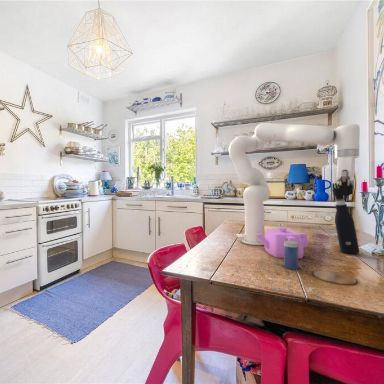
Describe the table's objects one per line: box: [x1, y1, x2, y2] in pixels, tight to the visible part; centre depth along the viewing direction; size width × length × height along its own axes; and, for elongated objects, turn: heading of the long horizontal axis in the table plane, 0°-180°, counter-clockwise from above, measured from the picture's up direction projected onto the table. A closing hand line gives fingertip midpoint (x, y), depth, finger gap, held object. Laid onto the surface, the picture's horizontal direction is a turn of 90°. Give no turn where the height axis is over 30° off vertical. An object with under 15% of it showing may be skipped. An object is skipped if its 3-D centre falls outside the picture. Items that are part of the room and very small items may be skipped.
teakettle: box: [257, 226, 309, 260], centre depth 109 cm, size 17×17×12 cm
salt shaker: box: [283, 241, 299, 270], centre depth 91 cm, size 5×5×10 cm
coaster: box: [313, 270, 357, 286], centre depth 81 cm, size 11×11×1 cm
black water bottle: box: [331, 186, 360, 255], centre depth 108 cm, size 6×6×30 cm
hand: (346, 194), depth 100 cm, fingers open, 9 cm apart
